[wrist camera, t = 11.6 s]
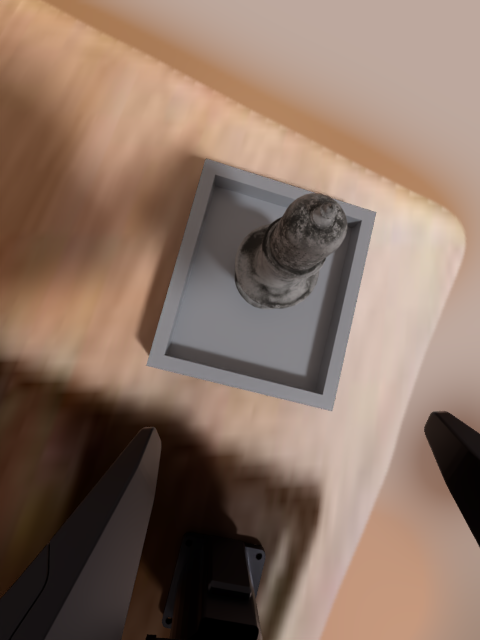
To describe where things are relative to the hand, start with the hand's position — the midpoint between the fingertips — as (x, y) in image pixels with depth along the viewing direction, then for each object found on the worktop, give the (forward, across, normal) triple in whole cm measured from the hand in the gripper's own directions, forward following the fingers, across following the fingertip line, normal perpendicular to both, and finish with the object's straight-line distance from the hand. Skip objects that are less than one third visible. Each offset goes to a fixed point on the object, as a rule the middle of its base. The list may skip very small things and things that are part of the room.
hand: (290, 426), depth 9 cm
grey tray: (+15, 0, +3) cm, 15 cm away
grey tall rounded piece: (+15, 0, +2) cm, 15 cm away
